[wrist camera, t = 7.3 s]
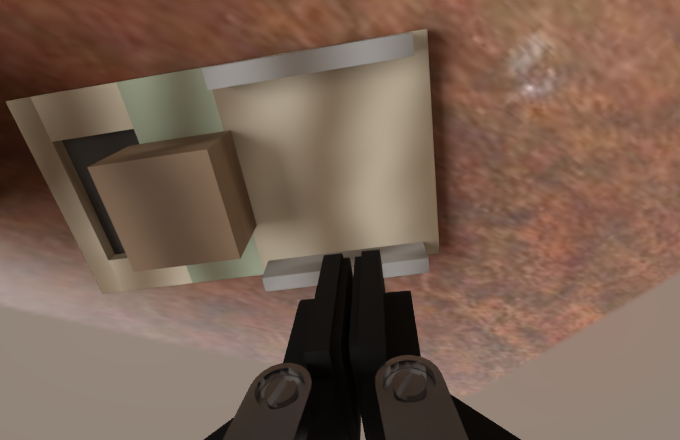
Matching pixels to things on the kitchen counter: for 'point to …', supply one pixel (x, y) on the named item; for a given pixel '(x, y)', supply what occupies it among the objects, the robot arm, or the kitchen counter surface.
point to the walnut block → (177, 201)
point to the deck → (264, 157)
